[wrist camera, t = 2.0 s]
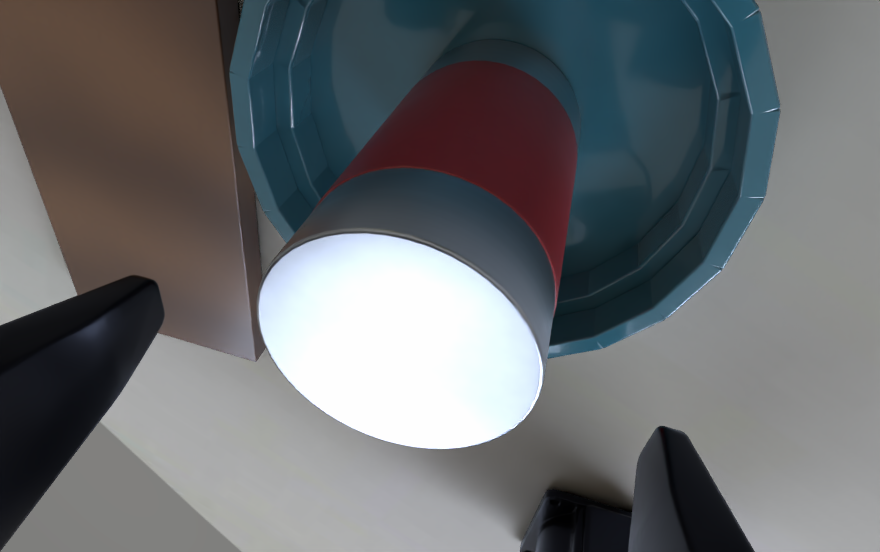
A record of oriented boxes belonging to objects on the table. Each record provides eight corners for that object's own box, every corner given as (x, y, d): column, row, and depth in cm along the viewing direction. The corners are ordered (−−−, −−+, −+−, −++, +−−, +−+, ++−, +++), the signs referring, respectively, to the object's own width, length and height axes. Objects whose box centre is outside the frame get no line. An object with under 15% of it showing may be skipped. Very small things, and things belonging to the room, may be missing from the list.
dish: (641, 341, 22) (643, 406, 19) (291, 246, 23) (252, 295, 21) (873, -105, 12) (933, -89, 10) (271, -212, 14) (197, -220, 12)
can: (555, 218, 19) (508, 481, 11) (404, 180, 20) (263, 406, 12) (605, 60, 16) (587, 281, 8) (422, 20, 16) (240, 190, 9)
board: (268, 344, 27) (256, 362, 26) (100, 295, 28) (82, 311, 27) (233, -57, 16) (210, -50, 16) (-38, -114, 17) (-74, -111, 17)
